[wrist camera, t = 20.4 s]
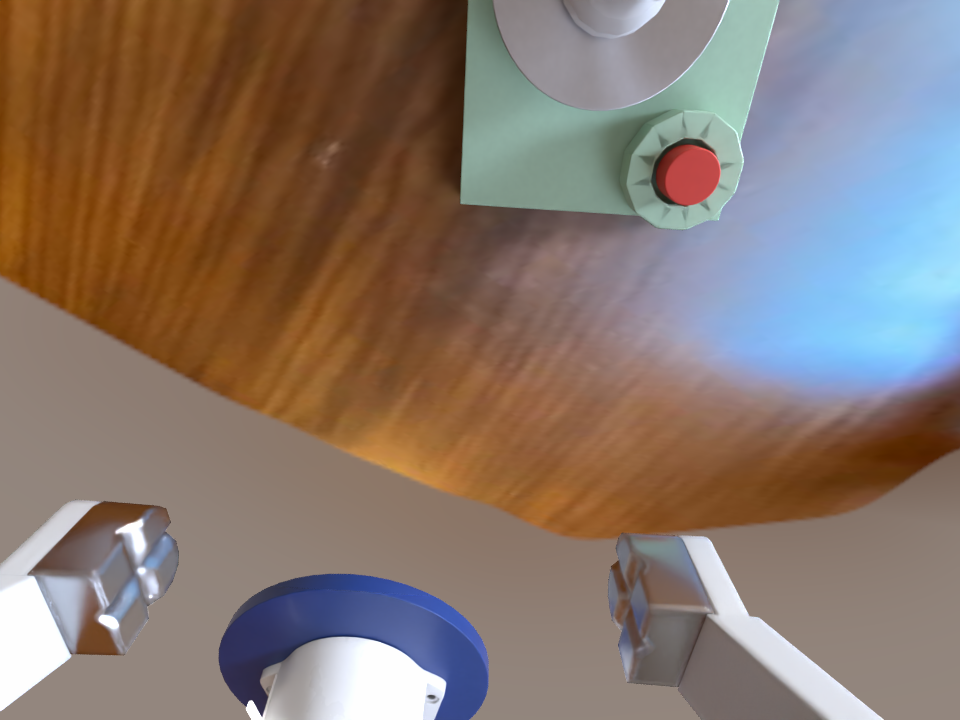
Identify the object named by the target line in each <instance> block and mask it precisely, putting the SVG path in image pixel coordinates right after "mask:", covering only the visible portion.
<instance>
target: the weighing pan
mask: <svg viewBox="0 0 960 720" xmlns="http://www.w3.org/2000/svg"><path fill="white" fill-rule="evenodd" d="M492 1H493V9H494V14H495V18H496V23H497V26H498V29H499V32H500V35H501V38H502V41H503V43H504V45H505V47H506V49H507V51H508V53H509V56H510V57H511V59H512V60H513V62H514V63H515V65H516V66H517V68H518V69H519V71H520V72H521V73H522V74H523V75H524V76H525V78H526V79H527V80H528V81H529V82H530V83H531V84H532V85H534V86H535V87H536V88H537V89H538V90H539V91H541V92H542V93H544V94H545V95H547V96H548V97H550V98H551V99H554V100H556V101H558V102H560V103H562V104H564V105H568V106H571V107H574V108H578V109H583V110H590V111H609V110H616V109H622V108H626V107H629V106H633V105H636V104H638V103H641V102H643V101H645V100H648V99H650V98H652V97H653V96H655V95H657V94H658V93H660V92H662V91H663V90H665V89H666V88H668V87H669V86H670V85H672V84H673V83H674V82H675V81H677V80H678V79H679V78H680V77H681V76H682V75H683V74H684V73H685V72H686V71H687V70H688V69H689V68H690V67H691V66H692V65H693V64H694V63H695V61H696V60H697V59H698V58H699V57H700V55H701V54H702V53H703V51H704V50H705V48H706V47H707V45H708V44H709V42H710V41H711V39H712V38H713V36H714V34H715V32H716V30H717V28H718V26H719V24H720V23H721V20H722V18H723V16H724V13H725V11H726V8H727V6H728V3H729V0H665V2H664V4H663V5H662V7H661V8H660V10H659V12H658V13H657V14H656V15H655V16H654V17H653V18H651V19H650V20H649V21H648V22H646V23H645V24H644V25H643V26H641V27H640V28H639V29H638V30H636V31H635V32H634V33H631V34H628V35H624V36H621V37H618V38H615V39H609V38H603V37H597V36H592V35H591V34H589V33H588V32H586V31H585V30H584V29H582V28H581V27H580V26H578V25H577V24H575V22H574V20H573V18H572V17H571V15H570V13H569V12H568V10H567V8H566V6H565V5H564V1H563V0H492Z"/></svg>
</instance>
